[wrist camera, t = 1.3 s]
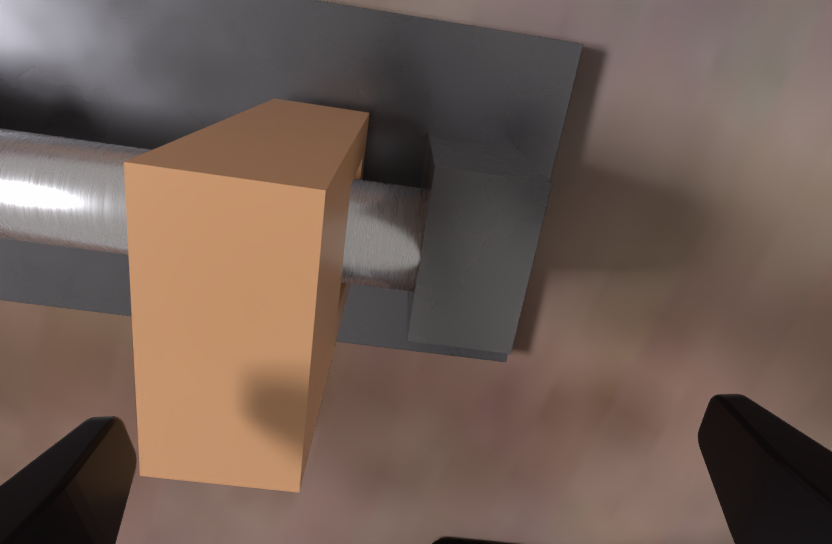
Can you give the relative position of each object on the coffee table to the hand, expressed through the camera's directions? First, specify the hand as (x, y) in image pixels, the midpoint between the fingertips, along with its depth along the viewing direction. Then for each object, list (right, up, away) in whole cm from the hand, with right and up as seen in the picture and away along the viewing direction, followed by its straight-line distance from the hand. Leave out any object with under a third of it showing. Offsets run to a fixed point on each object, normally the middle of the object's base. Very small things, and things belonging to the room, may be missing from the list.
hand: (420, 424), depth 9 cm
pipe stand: (-8, +6, +12) cm, 16 cm away
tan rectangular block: (-3, +5, +10) cm, 12 cm away
